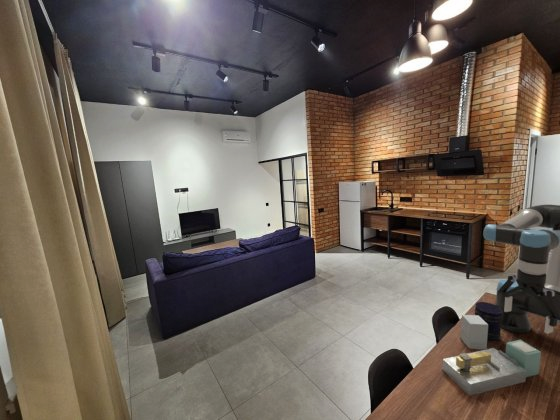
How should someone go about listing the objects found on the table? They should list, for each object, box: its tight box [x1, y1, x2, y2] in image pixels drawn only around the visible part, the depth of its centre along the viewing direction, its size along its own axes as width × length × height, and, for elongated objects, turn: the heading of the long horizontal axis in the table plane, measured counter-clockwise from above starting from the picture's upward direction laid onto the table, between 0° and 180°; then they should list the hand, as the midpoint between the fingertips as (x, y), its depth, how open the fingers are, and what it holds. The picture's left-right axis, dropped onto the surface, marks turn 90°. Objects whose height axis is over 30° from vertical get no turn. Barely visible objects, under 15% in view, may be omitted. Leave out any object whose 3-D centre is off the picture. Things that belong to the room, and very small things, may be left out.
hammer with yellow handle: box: [456, 351, 491, 372], centre depth 93 cm, size 3×14×5 cm, turn 98°
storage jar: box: [474, 301, 502, 343], centre depth 115 cm, size 10×10×15 cm
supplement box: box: [460, 314, 488, 350], centre depth 111 cm, size 7×7×13 cm
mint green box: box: [504, 339, 542, 378], centre depth 96 cm, size 7×7×10 cm
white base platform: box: [442, 347, 527, 396], centre depth 95 cm, size 25×12×6 cm, turn 99°
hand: (526, 321), depth 93 cm, fingers open, 13 cm apart
